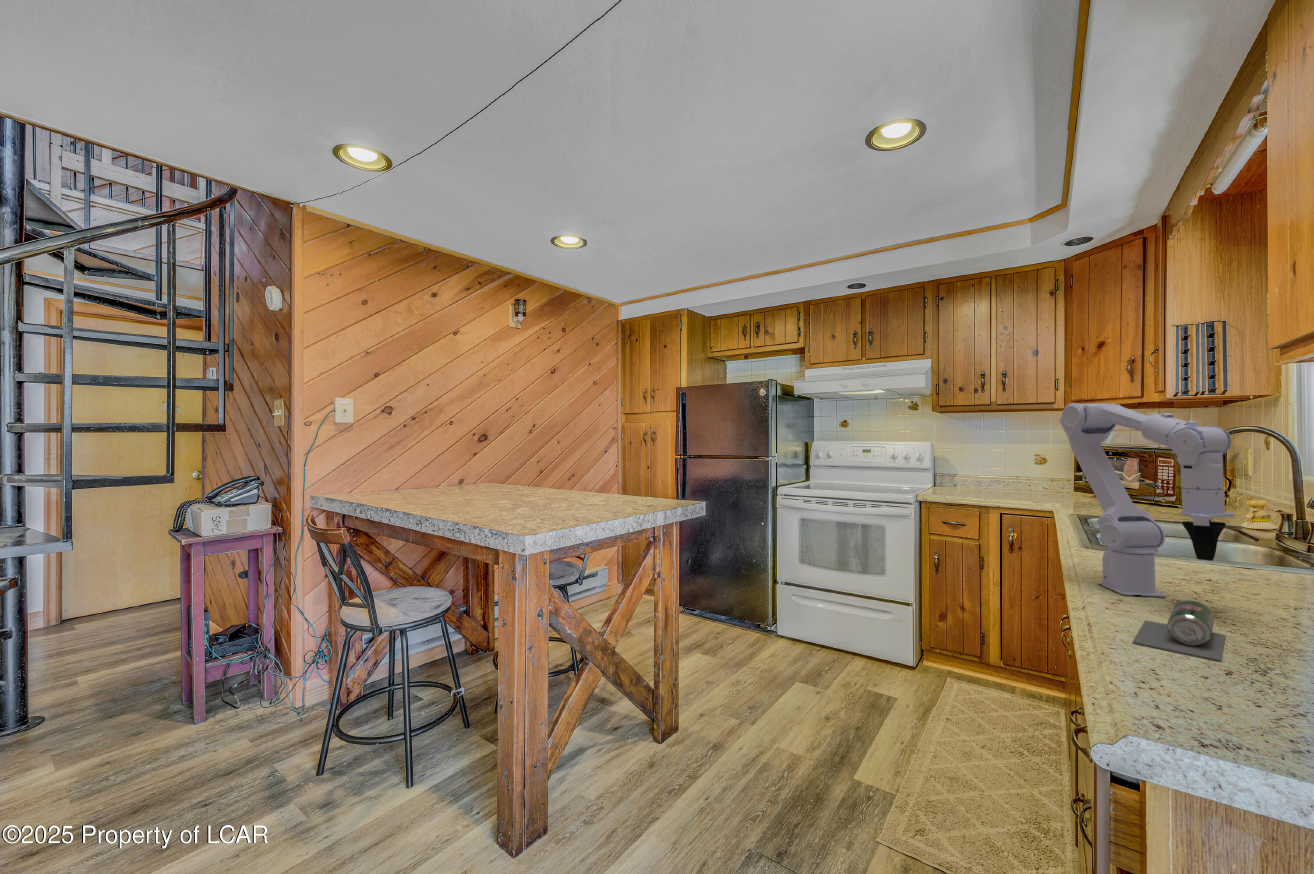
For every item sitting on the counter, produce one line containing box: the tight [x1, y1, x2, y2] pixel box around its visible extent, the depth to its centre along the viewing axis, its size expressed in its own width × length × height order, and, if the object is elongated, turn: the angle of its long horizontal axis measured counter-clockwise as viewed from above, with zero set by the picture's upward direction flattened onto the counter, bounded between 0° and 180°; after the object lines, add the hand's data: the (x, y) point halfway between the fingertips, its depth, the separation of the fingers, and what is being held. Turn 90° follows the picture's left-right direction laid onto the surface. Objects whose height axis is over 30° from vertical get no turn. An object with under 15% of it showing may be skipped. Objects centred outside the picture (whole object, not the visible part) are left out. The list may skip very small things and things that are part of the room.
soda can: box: [1166, 600, 1215, 646], centre depth 88 cm, size 5×5×12 cm
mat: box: [1132, 619, 1226, 662], centre depth 88 cm, size 15×10×1 cm, turn 131°
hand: (1205, 559), depth 100 cm, fingers closed
